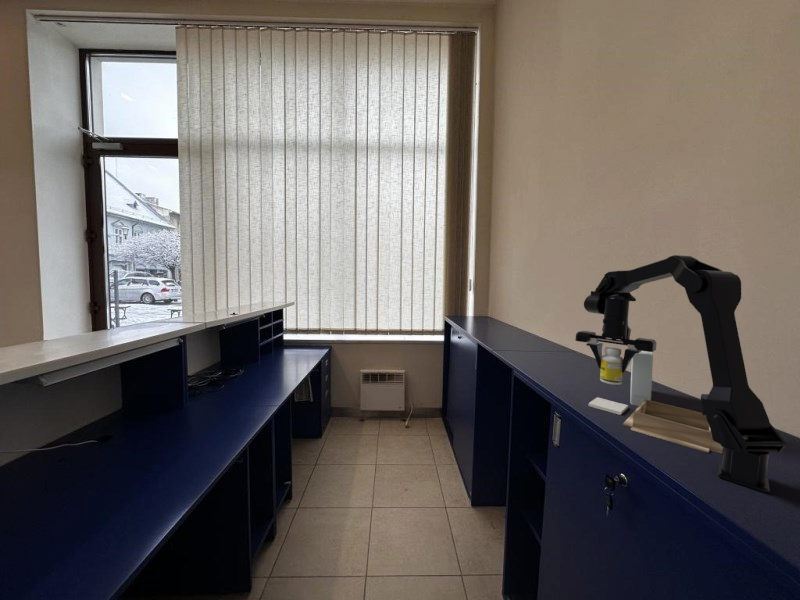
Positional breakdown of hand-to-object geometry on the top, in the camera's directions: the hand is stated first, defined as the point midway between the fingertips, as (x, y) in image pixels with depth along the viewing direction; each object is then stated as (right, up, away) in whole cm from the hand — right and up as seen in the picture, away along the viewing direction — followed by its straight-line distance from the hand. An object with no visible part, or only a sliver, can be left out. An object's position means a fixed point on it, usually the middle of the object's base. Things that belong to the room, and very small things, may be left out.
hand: (611, 370), depth 94 cm
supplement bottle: (0, -4, 0) cm, 4 cm away
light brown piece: (+7, -12, -13) cm, 19 cm away
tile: (-1, -11, +1) cm, 11 cm away
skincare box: (+16, -11, +11) cm, 22 cm away
